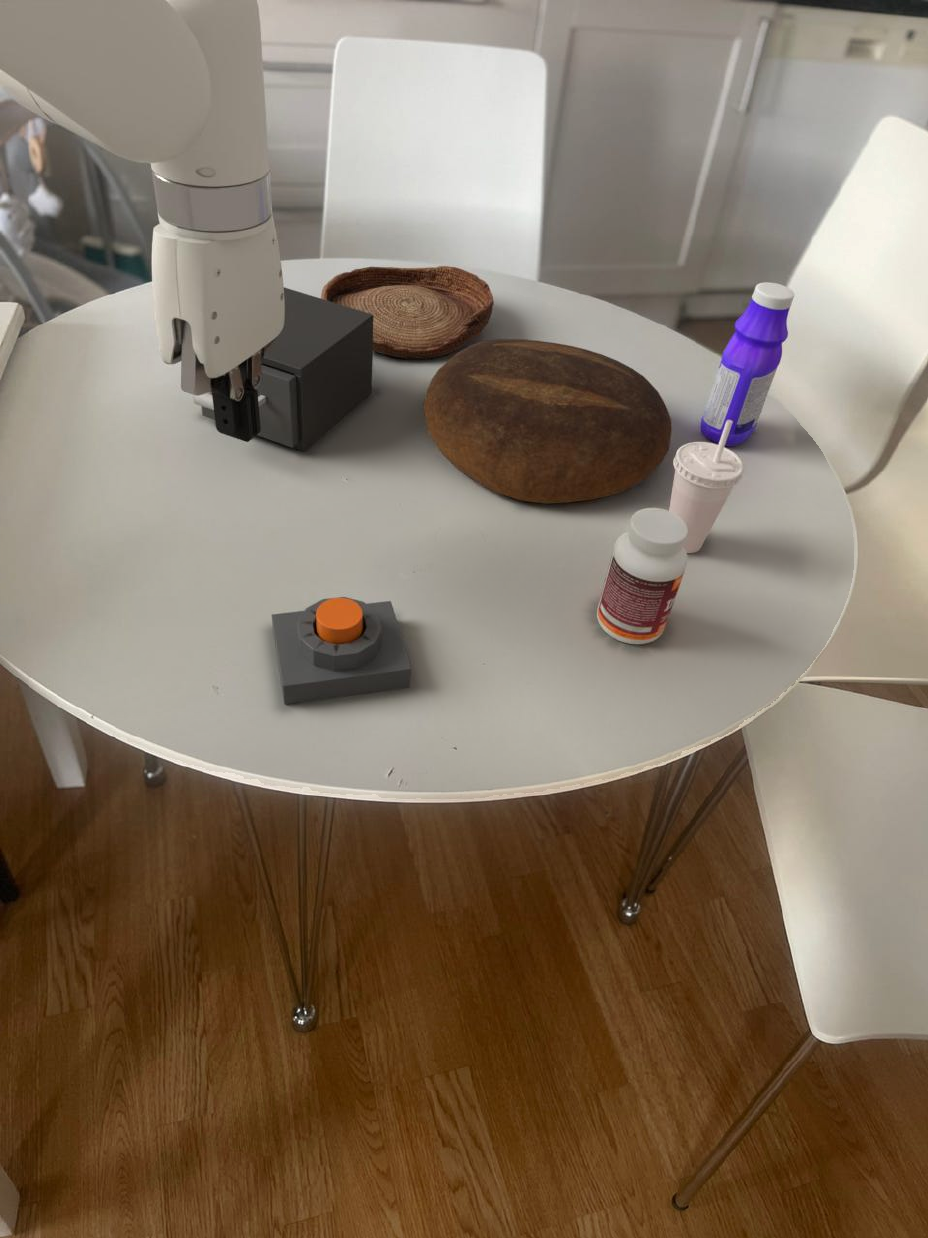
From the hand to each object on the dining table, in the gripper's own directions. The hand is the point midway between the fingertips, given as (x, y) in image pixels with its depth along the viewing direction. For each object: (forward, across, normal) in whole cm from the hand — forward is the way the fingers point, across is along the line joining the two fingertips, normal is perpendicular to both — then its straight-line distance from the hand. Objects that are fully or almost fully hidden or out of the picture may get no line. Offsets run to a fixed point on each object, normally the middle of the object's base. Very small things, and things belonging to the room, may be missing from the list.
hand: (238, 432), depth 72 cm
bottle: (+14, -46, +35) cm, 59 cm away
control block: (+13, +8, +14) cm, 20 cm away
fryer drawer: (+12, -20, -11) cm, 26 cm away
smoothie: (+13, -23, +35) cm, 44 cm away
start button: (+9, +7, +14) cm, 18 cm away
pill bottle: (+13, -9, +34) cm, 37 cm away
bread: (+13, -34, +16) cm, 40 cm away
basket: (+14, -49, -9) cm, 52 cm away
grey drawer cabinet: (+13, -24, -11) cm, 30 cm away
